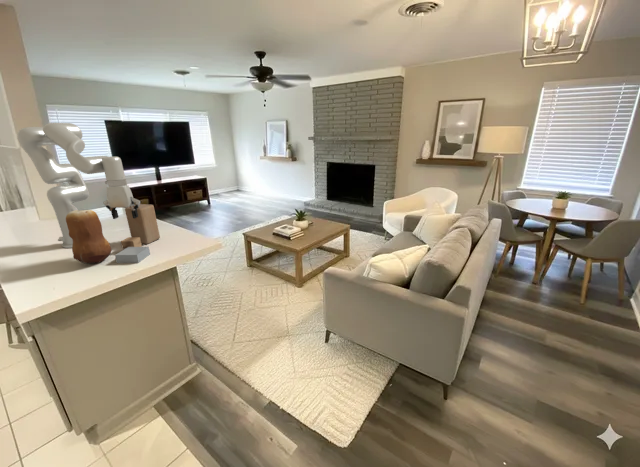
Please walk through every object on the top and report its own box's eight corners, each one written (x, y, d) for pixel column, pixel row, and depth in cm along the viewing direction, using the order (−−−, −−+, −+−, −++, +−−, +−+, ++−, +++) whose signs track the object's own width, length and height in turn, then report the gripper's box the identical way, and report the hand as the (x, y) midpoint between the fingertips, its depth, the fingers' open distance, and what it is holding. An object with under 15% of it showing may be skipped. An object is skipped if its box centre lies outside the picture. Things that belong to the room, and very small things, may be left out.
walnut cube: (123, 252, 145) (120, 241, 143) (130, 248, 151) (128, 237, 149) (135, 252, 145) (132, 241, 143) (142, 247, 151) (139, 237, 149)
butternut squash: (104, 254, 143) (91, 205, 135) (119, 259, 137) (105, 208, 128) (71, 264, 132) (54, 211, 123) (85, 271, 125) (67, 215, 117)
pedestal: (116, 263, 133) (114, 255, 131) (130, 254, 142) (128, 247, 141) (138, 262, 133) (136, 254, 132) (150, 254, 142) (148, 246, 141)
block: (147, 244, 155) (139, 208, 148) (132, 243, 156) (123, 208, 150) (161, 238, 164) (154, 204, 157) (146, 237, 166) (138, 203, 159)
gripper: (93, 185, 133) (103, 220, 138) (130, 184, 133) (139, 219, 139) (104, 182, 140) (113, 216, 146) (140, 181, 140) (147, 215, 146)
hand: (125, 218), depth 142 cm, fingers open, 9 cm apart
